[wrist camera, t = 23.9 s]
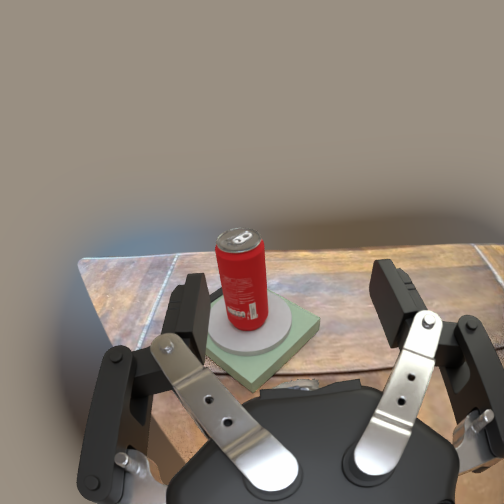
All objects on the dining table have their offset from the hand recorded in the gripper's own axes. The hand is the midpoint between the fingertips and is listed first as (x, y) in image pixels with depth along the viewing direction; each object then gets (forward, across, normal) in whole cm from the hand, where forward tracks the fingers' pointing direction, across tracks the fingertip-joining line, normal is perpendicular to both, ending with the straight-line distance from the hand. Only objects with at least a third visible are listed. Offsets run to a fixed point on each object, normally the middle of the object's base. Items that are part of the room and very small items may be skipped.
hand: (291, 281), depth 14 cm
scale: (+17, +4, +23) cm, 29 cm away
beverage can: (+16, +4, +20) cm, 26 cm away
